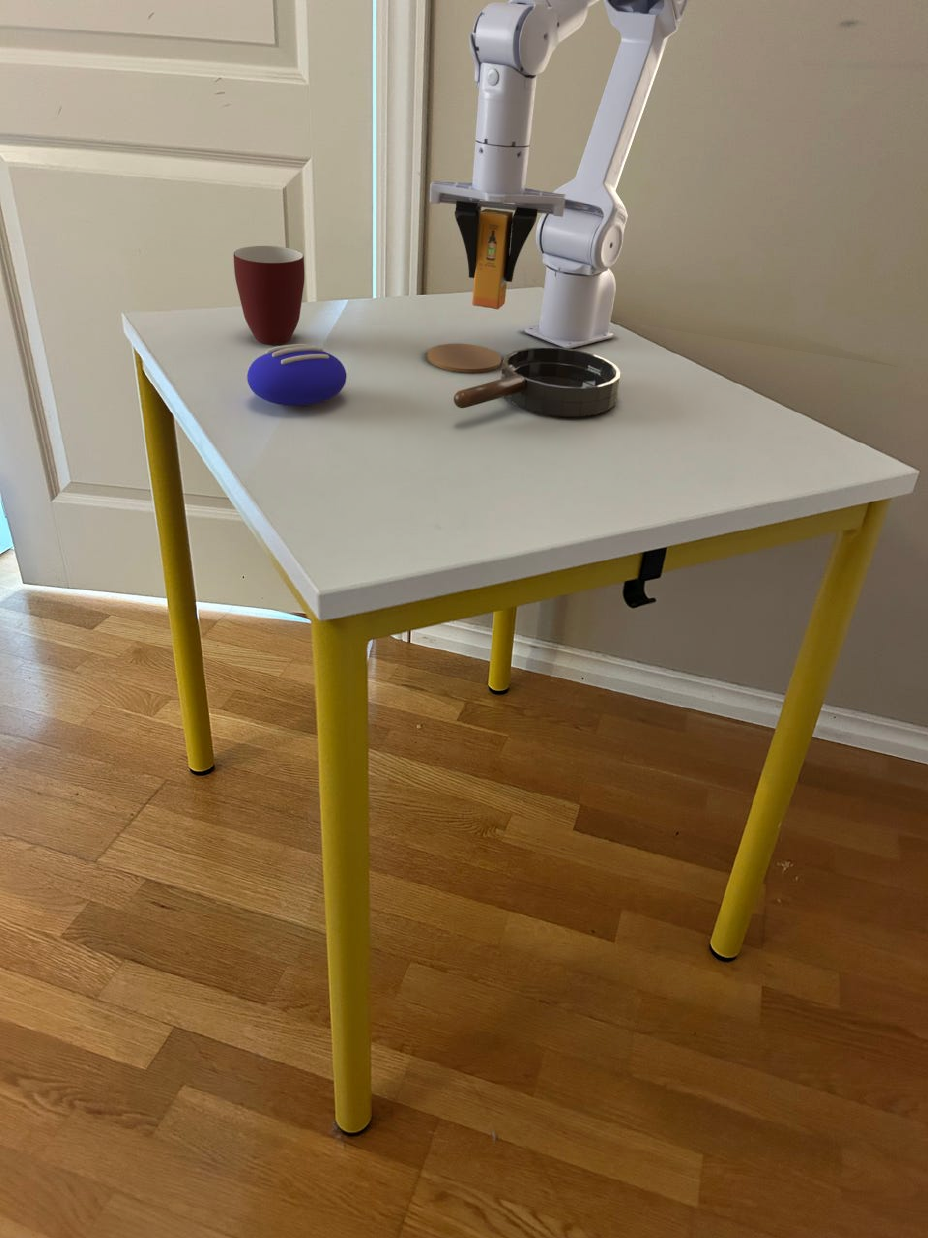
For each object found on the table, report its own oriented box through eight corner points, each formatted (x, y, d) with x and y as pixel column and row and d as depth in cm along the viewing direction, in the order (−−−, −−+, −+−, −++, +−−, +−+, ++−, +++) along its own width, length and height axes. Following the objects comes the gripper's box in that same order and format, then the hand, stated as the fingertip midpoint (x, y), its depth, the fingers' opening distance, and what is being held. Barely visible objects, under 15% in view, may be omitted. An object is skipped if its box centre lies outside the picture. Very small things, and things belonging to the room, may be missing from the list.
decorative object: (326, 318, 95) (361, 361, 89) (326, 367, 99) (360, 412, 93) (229, 329, 91) (258, 376, 85) (234, 381, 95) (262, 428, 89)
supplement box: (506, 303, 103) (516, 210, 97) (498, 310, 100) (507, 215, 94) (479, 298, 103) (487, 206, 97) (470, 305, 101) (477, 211, 95)
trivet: (466, 342, 113) (466, 338, 112) (516, 364, 107) (516, 360, 107) (412, 355, 107) (412, 351, 107) (462, 378, 102) (462, 374, 102)
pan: (553, 368, 107) (557, 339, 105) (637, 403, 100) (643, 373, 98) (476, 389, 100) (479, 359, 98) (561, 429, 92) (566, 397, 90)
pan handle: (516, 387, 96) (518, 371, 94) (528, 392, 95) (530, 376, 93) (449, 406, 90) (450, 389, 89) (461, 412, 89) (462, 395, 88)
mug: (249, 321, 113) (243, 238, 107) (312, 325, 114) (310, 243, 108) (233, 348, 105) (226, 260, 99) (302, 352, 105) (299, 265, 99)
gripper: (428, 140, 89) (422, 279, 97) (571, 154, 88) (553, 293, 96) (438, 132, 95) (431, 263, 103) (572, 145, 94) (555, 277, 102)
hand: (490, 277), depth 100 cm, fingers closed on supplement box, 3 cm apart
